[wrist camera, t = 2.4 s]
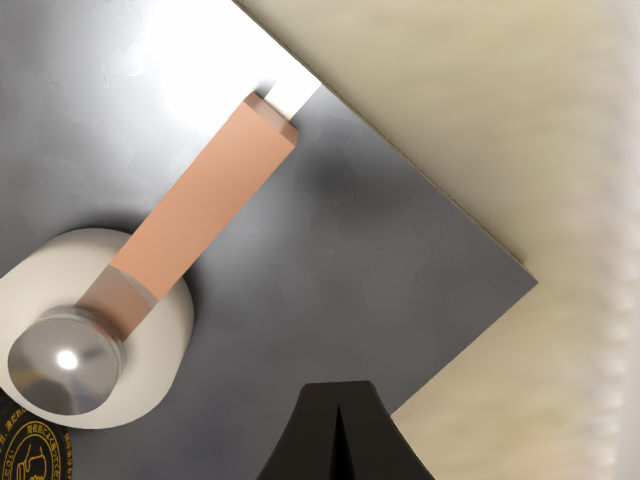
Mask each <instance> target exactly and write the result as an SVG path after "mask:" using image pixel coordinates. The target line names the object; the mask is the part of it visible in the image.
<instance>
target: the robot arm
mask: <svg viewBox="0 0 640 480" xmlns="http://www.w3.org/2000/svg"><path fill="white" fill-rule="evenodd" d="M256 480H435V479H434V478H433V476H432V475H431V474H430V473H429V471H428V470H427V469H426V468H425V466H424V465H423V464H422V462H421V461H420V460H419V458H418V457H417V456H416V454H415V453H414V452H413V450H412V449H411V447H410V446H409V444H408V443H407V442H406V440H405V439H404V437H403V436H402V434H401V433H400V431H399V430H398V428H397V427H396V425H395V424H394V422H393V420H392V419H391V417H390V415H389V414H388V412H387V410H386V408H385V407H384V405H383V403H382V401H381V399H380V397H379V395H378V393H377V390H376V388H375V385H374V384H373V383H371V382H370V381H369V380H364V381H345V382H325V383H306V384H305V385H304V386H303V387H302V388H301V390H300V394H299V397H298V400H297V403H296V405H295V408H294V410H293V412H292V415H291V417H290V419H289V421H288V423H287V426H286V428H285V430H284V432H283V433H282V435H281V437H280V439H279V441H278V443H277V445H276V447H275V449H274V450H273V452H272V454H271V456H270V458H269V459H268V461H267V463H266V464H265V466H264V467H263V469H262V471H261V472H260V474H259V475H258V477H257V479H256Z"/></svg>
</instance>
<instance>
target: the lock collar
mask: <svg viewBox="0 0 640 480" xmlns="http://www.w3.org/2000/svg"><path fill="white" fill-rule="evenodd" d="M297 135H298V130H296V129H295V128H294V127H293V126H292V125H291V124H290V123H289V122H287V121H286V120H285V119H284V118H283V117H282V116H281V115H279V114H278V113H277V112H276V111H275V110H274V109H273V108H271V107H270V106H269V105H268V104H267V103H266V102H265V101H264V100H262V99H261V98H260V97H259V96H258V95H257V94H256V93H254V92H253V91H252V92H251V93H250V94H249V95H248V96H247V97H246V98H245V99H244V100H243V102H242V103H241V104H240V105H239V106H238V108H237V109H236V110H235V111H234V112H233V114H232V115H231V116H230V117H229V119H228V120H227V121H226V122H225V123H224V125H223V126H222V127H221V128H220V129H219V131H218V132H217V133H216V134H215V135H214V137H213V138H212V139H211V140H210V142H209V143H208V144H207V145H206V146H205V148H204V149H203V150H202V151H201V152H200V154H199V155H198V156H197V157H196V158H195V160H194V161H193V162H192V163H191V165H190V166H189V167H188V168H187V169H186V171H185V172H184V173H183V174H182V175H181V177H180V178H179V179H178V180H177V182H176V183H175V184H174V185H173V186H172V188H171V189H170V190H169V191H168V192H167V194H166V195H165V196H164V197H163V198H162V200H161V201H160V202H159V203H158V205H157V206H156V207H155V208H154V209H153V211H152V212H151V213H150V214H149V215H148V217H147V218H146V219H145V220H144V221H143V223H142V224H141V225H140V226H139V228H138V229H137V230H136V231H135V232H134V234H133V235H130V234H127V233H124V232H120V231H116V230H111V229H103V228H87V229H78V230H74V231H70V232H66V233H63V234H61V235H59V236H56V237H54V238H52V239H51V240H49V241H47V242H46V243H44V244H43V245H42V246H41V247H40V248H38V249H37V250H36V251H35V252H33V253H32V254H31V255H30V256H28V257H27V258H26V259H25V260H23V261H22V262H21V263H20V264H18V265H17V266H16V267H15V268H13V269H12V270H11V271H10V272H8V273H7V274H6V275H5V276H3V277H2V278H1V279H0V387H1V388H2V389H3V390H4V391H5V392H6V393H7V394H8V395H9V396H10V397H11V398H12V399H13V400H14V401H16V402H17V403H18V404H20V405H21V406H22V407H24V408H25V409H27V410H28V411H30V412H32V413H34V414H35V415H37V416H39V417H41V418H44V419H46V420H48V421H51V422H54V423H57V424H60V425H64V426H69V427H74V428H83V429H102V428H111V427H115V426H120V425H123V424H126V423H129V422H132V421H134V420H136V419H138V418H140V417H142V416H143V415H145V414H146V413H148V412H149V411H151V410H152V409H153V408H154V407H155V406H156V405H157V404H158V403H160V401H161V400H162V399H163V398H164V396H165V395H166V394H167V392H168V390H169V389H170V387H171V385H172V383H173V380H174V378H175V375H176V373H177V370H178V368H179V366H180V363H181V361H182V358H183V356H184V353H185V351H186V348H187V346H188V343H189V341H190V338H191V335H192V331H193V326H194V308H193V302H192V298H191V294H190V292H189V289H188V286H187V284H186V282H185V280H184V279H183V277H182V275H183V274H184V273H185V272H186V271H187V269H188V268H189V267H190V266H191V265H192V264H193V263H194V261H195V260H196V259H197V258H198V257H199V256H200V255H201V253H202V252H203V251H204V250H205V249H206V248H207V247H208V246H209V244H210V243H211V242H212V241H213V240H214V239H215V238H216V236H217V235H218V234H219V233H220V232H221V231H222V230H223V228H224V227H225V226H226V225H227V224H228V223H229V222H230V221H231V219H232V218H233V217H234V216H235V215H236V214H237V213H238V211H239V210H240V209H241V208H242V207H243V206H244V205H245V203H246V202H247V201H248V200H249V199H250V198H251V197H252V195H253V194H254V193H255V192H256V191H257V190H258V189H259V188H260V186H261V185H262V184H263V183H264V182H265V181H266V180H267V178H268V177H269V176H270V175H271V174H272V173H273V172H274V170H275V169H276V168H277V167H278V166H279V165H280V164H281V162H282V161H283V160H284V159H285V158H286V157H287V156H288V155H289V153H290V152H291V151H292V150H293V149H294V148H295V146H296V141H297ZM58 308H77V309H82V310H86V311H89V312H92V313H94V314H96V315H98V316H99V317H101V318H103V319H104V320H105V321H107V322H108V323H109V324H110V325H111V326H112V327H113V328H114V329H115V330H116V332H117V333H118V334H119V336H120V338H121V340H122V342H123V344H124V348H125V353H126V363H125V367H124V370H123V373H122V375H121V376H120V378H119V380H118V382H117V384H116V385H115V387H114V389H113V391H112V392H111V394H110V396H109V397H108V399H107V400H106V401H105V402H104V403H103V404H102V405H101V406H99V407H98V408H97V409H95V410H93V411H91V412H88V413H85V414H81V415H73V416H65V415H57V414H53V413H50V412H47V411H44V410H42V409H40V408H38V407H36V406H34V405H33V404H31V403H30V402H28V401H27V400H26V399H25V398H24V397H23V396H22V395H21V394H20V393H19V392H18V391H17V389H16V388H15V386H14V385H13V383H12V381H11V378H10V376H9V372H8V363H7V362H8V355H9V351H10V349H11V347H12V345H13V343H14V342H15V340H16V339H17V338H18V337H19V336H20V335H21V334H22V333H23V332H24V331H25V330H26V329H27V328H28V327H29V326H30V325H31V324H32V323H33V322H34V320H35V319H37V318H38V317H39V316H40V315H42V314H44V313H46V312H48V311H51V310H54V309H58Z"/></svg>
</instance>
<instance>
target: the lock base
mask: <svg viewBox="0 0 640 480" xmlns="http://www.w3.org/2000/svg"><path fill="white" fill-rule="evenodd" d="M252 91H253V92H254V93H256V94H257V95H258V96H259V97H260V98H261V99H262V100H264V101H265V102H266V103H267V104H268V105H269V106H270V107H271V108H273V109H274V110H275V111H276V112H277V113H278V114H279V115H281V116H282V117H283V118H284V119H285V120H286V121H287V122H289V123H290V124H291V125H292V126H293V127H294V128H295V129H296V130H298V135H297V141H296V146H295V148H294V149H293V150H292V151H291V152H290V153H289V155H288V156H287V157H286V158H285V159H284V160H283V161H282V162H281V164H280V165H279V166H278V167H277V168H276V169H275V170H274V172H273V173H272V174H271V175H270V176H269V177H268V178H267V180H266V181H265V182H264V183H263V184H262V185H261V186H260V188H259V189H258V190H257V191H256V192H255V193H254V194H253V195H252V197H251V198H250V199H249V200H248V201H247V202H246V203H245V205H244V206H243V207H242V208H241V209H240V210H239V211H238V213H237V214H236V215H235V216H234V217H233V218H232V219H231V221H230V222H229V223H228V224H227V225H226V226H225V227H224V228H223V230H222V231H221V232H220V233H219V234H218V235H217V236H216V238H215V239H214V240H213V241H212V242H211V243H210V244H209V246H208V247H207V248H206V249H205V250H204V251H203V252H202V253H201V255H200V256H199V257H198V258H197V259H196V260H195V261H194V263H193V264H192V265H191V266H190V267H189V268H188V269H187V271H186V272H185V273H184V274H183V275H182V277H183V279H184V280H185V282H186V284H187V286H188V289H189V292H190V294H191V298H192V302H193V308H194V326H193V331H192V335H191V338H190V341H189V343H188V346H187V348H186V351H185V353H184V356H183V358H182V361H181V363H180V366H179V368H178V370H177V373H176V375H175V378H174V380H173V383H172V385H171V387H170V389H169V390H168V392H167V394H166V395H165V396H164V398H163V399H162V400H161V401H160V403H158V404H157V405H156V406H155V407H154V408H153V409H152V410H151V411H149V412H148V413H146V414H145V415H143V416H142V417H140V418H138V419H136V420H134V421H132V422H129V423H126V424H123V425H120V426H115V427H111V428H102V429H83V428H74V427H69V426H66V427H67V430H68V433H69V438H70V441H71V448H72V463H73V467H72V480H256V479H257V477H258V475H259V474H260V472H261V471H262V469H263V467H264V466H265V464H266V463H267V461H268V459H269V458H270V456H271V454H272V452H273V450H274V449H275V447H276V445H277V443H278V441H279V439H280V437H281V435H282V433H283V432H284V430H285V428H286V426H287V423H288V421H289V419H290V417H291V415H292V412H293V410H294V408H295V405H296V403H297V400H298V397H299V394H300V390H301V388H302V387H303V386H304V385H305V384H306V383H325V382H345V381H364V380H369V381H370V382H371V383H373V384H374V385H375V388H376V390H377V393H378V395H379V397H380V399H381V401H382V403H383V405H384V407H385V408H386V410H387V412H388V414H389V415H391V414H392V413H393V412H395V411H396V410H397V409H398V408H399V407H400V406H401V405H402V404H404V403H405V402H406V401H407V400H408V399H409V398H410V397H411V396H412V395H414V394H415V393H416V392H417V391H418V390H419V389H420V388H421V387H422V386H424V385H425V384H426V383H427V382H428V381H429V380H430V379H431V378H433V377H434V376H435V375H436V374H437V373H438V372H439V371H440V370H441V369H443V368H444V367H445V366H446V365H447V364H448V363H449V362H450V361H451V360H453V359H454V358H455V357H456V356H457V355H458V354H459V353H460V352H462V351H463V350H464V349H465V348H466V347H467V346H468V345H469V344H470V343H472V342H473V341H474V340H475V339H476V338H477V337H478V336H479V335H480V334H482V333H483V332H484V331H485V330H486V329H487V328H488V327H489V326H491V325H492V324H493V323H494V322H495V321H496V320H497V319H498V318H499V317H501V316H502V315H503V314H504V313H505V312H506V311H507V310H508V309H509V308H511V307H512V306H513V305H514V304H515V303H516V302H517V301H518V300H520V299H521V298H522V297H523V296H524V295H525V294H526V293H527V292H528V291H530V290H531V289H532V288H533V287H534V286H535V285H536V284H537V283H538V281H537V280H536V279H535V277H534V276H533V275H532V274H531V273H530V272H529V270H528V269H527V268H526V267H525V266H524V265H523V264H522V263H521V262H520V261H519V260H518V259H517V258H516V257H515V256H514V255H512V254H511V253H510V252H509V251H508V250H507V249H506V248H505V247H504V246H503V245H502V244H500V243H499V242H498V241H497V240H496V239H495V238H494V237H493V236H492V235H491V234H490V233H488V232H487V231H486V230H485V229H484V228H483V227H482V226H481V225H480V224H479V223H478V222H477V221H475V220H474V219H473V218H472V217H471V216H470V215H469V214H468V213H467V212H466V211H465V210H463V209H462V208H461V207H460V206H459V205H458V204H457V203H456V202H455V201H454V200H453V199H451V198H450V197H449V196H448V195H447V194H446V193H445V192H444V191H443V190H442V189H441V188H439V187H438V186H437V185H436V184H435V183H434V182H433V181H432V180H431V179H430V178H429V177H428V176H426V175H425V174H424V173H423V172H422V171H421V170H420V169H419V168H418V167H417V166H416V165H414V164H413V163H412V162H411V161H410V160H409V159H408V158H407V157H406V156H405V155H404V154H402V153H401V152H400V151H399V150H398V149H397V148H396V147H395V146H394V145H393V144H392V143H390V142H389V141H388V140H387V139H386V138H385V137H384V136H383V135H382V134H381V133H380V132H379V131H377V130H376V129H375V128H374V127H373V126H372V125H371V124H370V123H369V122H368V121H367V120H365V119H364V118H363V117H362V116H361V115H360V114H359V113H358V112H357V111H356V110H355V109H353V108H352V107H351V106H350V105H349V104H348V103H347V102H346V101H345V100H344V99H343V98H342V97H340V96H339V95H338V94H337V93H336V92H335V91H334V90H333V89H332V88H331V87H330V86H328V85H327V84H326V83H325V82H324V81H323V80H322V79H321V78H320V77H319V76H318V75H316V74H315V73H314V72H313V71H312V70H311V69H310V68H309V67H308V66H307V65H306V64H304V63H303V62H302V61H301V60H300V59H299V58H298V57H297V56H296V55H295V54H294V53H293V52H291V51H290V50H289V49H288V48H287V47H286V46H285V45H284V44H283V43H282V42H281V41H279V40H278V39H277V38H276V37H275V36H274V35H273V34H272V33H271V32H270V31H269V30H267V29H266V28H265V27H264V26H263V25H262V24H261V23H260V22H259V21H258V20H257V19H255V18H254V17H253V16H252V15H251V14H250V13H249V12H248V11H247V10H246V9H245V8H244V7H242V6H241V5H240V4H239V3H238V2H237V1H236V0H0V279H1V278H2V277H3V276H5V275H6V274H7V273H8V272H10V271H11V270H12V269H13V268H15V267H16V266H17V265H18V264H20V263H21V262H22V261H23V260H25V259H26V258H27V257H28V256H30V255H31V254H32V253H33V252H35V251H36V250H37V249H38V248H40V247H41V246H42V245H43V244H44V243H46V242H47V241H49V240H51V239H52V238H54V237H56V236H59V235H61V234H63V233H66V232H70V231H74V230H78V229H87V228H103V229H111V230H116V231H120V232H124V233H127V234H130V235H133V234H134V232H135V231H136V230H137V229H138V228H139V226H140V225H141V224H142V223H143V221H144V220H145V219H146V218H147V217H148V215H149V214H150V213H151V212H152V211H153V209H154V208H155V207H156V206H157V205H158V203H159V202H160V201H161V200H162V198H163V197H164V196H165V195H166V194H167V192H168V191H169V190H170V189H171V188H172V186H173V185H174V184H175V183H176V182H177V180H178V179H179V178H180V177H181V175H182V174H183V173H184V172H185V171H186V169H187V168H188V167H189V166H190V165H191V163H192V162H193V161H194V160H195V158H196V157H197V156H198V155H199V154H200V152H201V151H202V150H203V149H204V148H205V146H206V145H207V144H208V143H209V142H210V140H211V139H212V138H213V137H214V135H215V134H216V133H217V132H218V131H219V129H220V128H221V127H222V126H223V125H224V123H225V122H226V121H227V120H228V119H229V117H230V116H231V115H232V114H233V112H234V111H235V110H236V109H237V108H238V106H239V105H240V104H241V103H242V102H243V100H244V99H245V98H246V97H247V96H248V95H249V94H250V93H251V92H252ZM7 363H8V372H9V376H10V378H11V381H12V383H13V385H14V386H15V388H16V389H17V391H18V392H19V393H20V394H21V395H22V396H23V397H24V398H25V399H26V400H27V401H28V402H30V403H31V404H33V405H34V406H36V407H38V408H40V409H42V410H44V411H47V412H50V413H53V414H57V415H65V416H73V415H81V414H85V413H88V412H91V411H93V410H95V409H97V408H98V407H99V406H101V405H102V404H103V403H104V402H105V401H106V400H107V399H108V397H109V396H110V394H111V392H112V391H113V389H114V387H115V385H116V384H117V382H118V380H119V378H120V376H121V375H122V373H123V370H124V367H125V363H126V353H125V348H124V344H123V342H122V340H121V338H120V336H119V334H118V333H117V332H116V330H115V329H114V328H113V327H112V326H111V325H110V324H109V323H108V322H107V321H105V320H104V319H103V318H101V317H99V316H98V315H96V314H94V313H92V312H89V311H86V310H82V309H77V308H58V309H54V310H51V311H48V312H46V313H44V314H42V315H40V316H39V317H38V318H37V319H35V320H34V322H33V323H32V324H31V325H30V326H29V327H28V328H27V329H26V330H25V331H24V332H23V333H22V334H21V335H20V336H19V337H18V338H17V339H16V340H15V342H14V343H13V345H12V347H11V349H10V351H9V355H8V362H7ZM6 396H9V395H8V394H7V393H6V392H5V391H4V390H3V389H2V388H1V387H0V397H6Z"/></svg>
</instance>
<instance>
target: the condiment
mask: <svg viewBox="0 0 640 480" xmlns="http://www.w3.org/2000/svg"><path fill="white" fill-rule="evenodd" d="M72 467H73V463H72V448H71V441H70V438H69V433H68V430H67V427H66V426H64V425H60V424H57V423H54V422H51V421H48V420H46V419H44V418H41V417H39V416H37V415H35V414H34V413H32V412H30V411H28V410H27V409H25V408H24V407H22V406H21V405H20V404H18V403H17V402H16V401H14V400H13V399H12V398H11V397H10V396H6V397H0V480H72Z"/></svg>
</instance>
